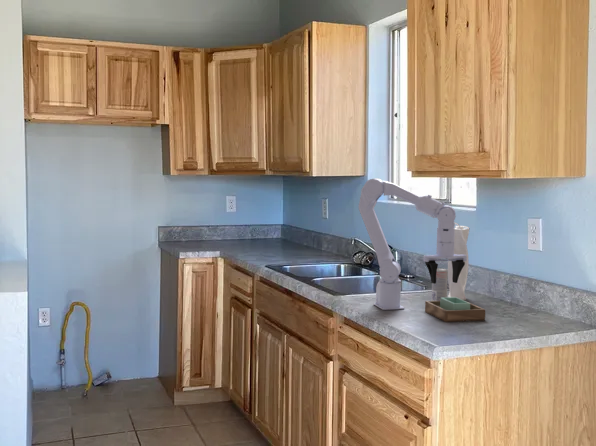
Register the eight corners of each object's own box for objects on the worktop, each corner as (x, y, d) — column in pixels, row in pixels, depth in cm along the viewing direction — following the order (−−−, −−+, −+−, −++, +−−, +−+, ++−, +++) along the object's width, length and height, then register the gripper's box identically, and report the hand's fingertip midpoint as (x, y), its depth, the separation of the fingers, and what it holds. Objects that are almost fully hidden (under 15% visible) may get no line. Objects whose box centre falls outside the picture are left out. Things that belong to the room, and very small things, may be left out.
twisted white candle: (447, 300, 247) (450, 222, 244) (443, 296, 254) (445, 220, 252) (469, 300, 247) (472, 222, 244) (464, 296, 254) (467, 221, 252)
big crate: (425, 311, 227) (425, 301, 227) (462, 310, 230) (462, 299, 230) (445, 322, 212) (445, 311, 212) (484, 320, 215) (485, 309, 215)
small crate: (440, 311, 225) (440, 297, 225) (455, 310, 226) (455, 297, 226) (453, 317, 215) (454, 303, 215) (469, 317, 217) (470, 303, 216)
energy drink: (444, 301, 244) (445, 268, 243) (448, 304, 239) (449, 270, 238) (429, 301, 244) (430, 268, 243) (433, 304, 239) (434, 270, 237)
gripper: (430, 243, 221) (428, 285, 222) (471, 243, 224) (470, 284, 226) (421, 241, 228) (420, 281, 229) (461, 240, 231) (460, 280, 233)
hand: (444, 282), depth 228 cm, fingers open, 7 cm apart
